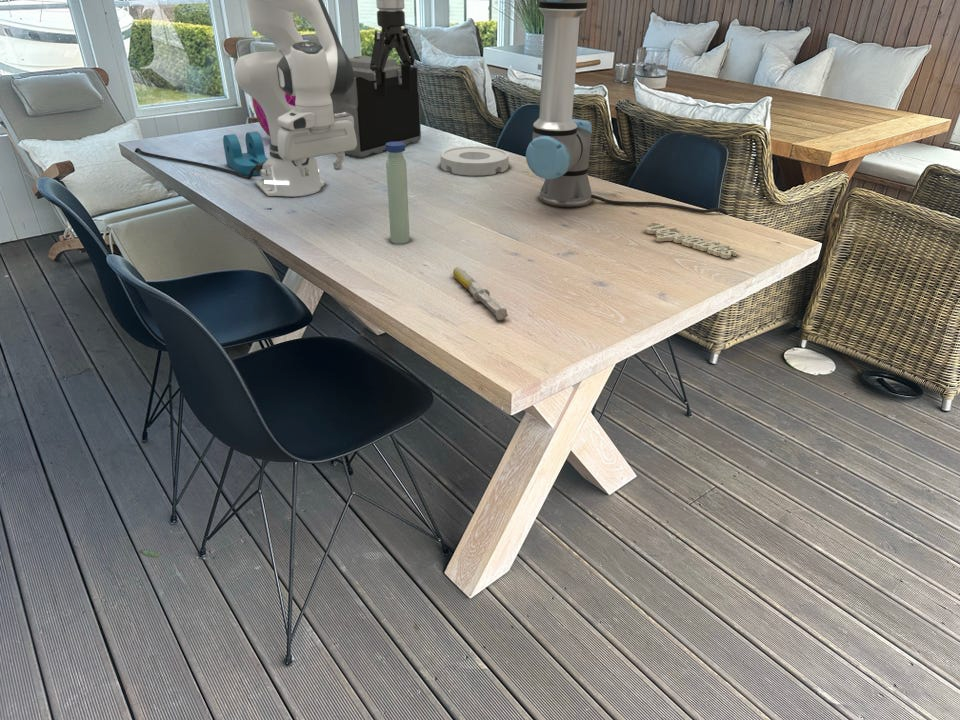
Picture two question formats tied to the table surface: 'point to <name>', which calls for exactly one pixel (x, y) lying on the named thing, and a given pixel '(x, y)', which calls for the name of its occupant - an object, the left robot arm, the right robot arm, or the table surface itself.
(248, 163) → the camera mount
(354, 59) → the electronic device
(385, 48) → the right robot arm
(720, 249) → the decorative sign
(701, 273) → the table surface
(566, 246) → the table surface
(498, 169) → the ashtray
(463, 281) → the syringe
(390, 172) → the bottle
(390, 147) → the cap
